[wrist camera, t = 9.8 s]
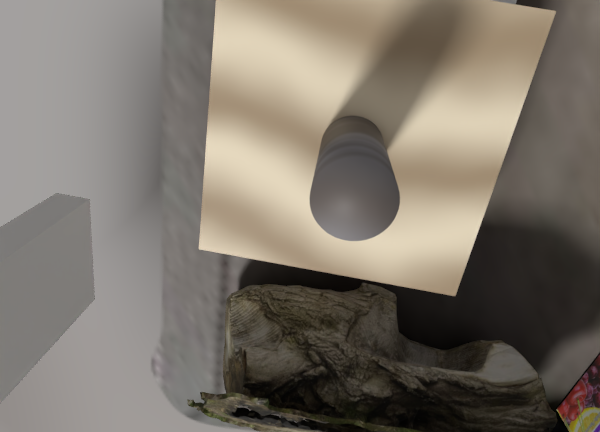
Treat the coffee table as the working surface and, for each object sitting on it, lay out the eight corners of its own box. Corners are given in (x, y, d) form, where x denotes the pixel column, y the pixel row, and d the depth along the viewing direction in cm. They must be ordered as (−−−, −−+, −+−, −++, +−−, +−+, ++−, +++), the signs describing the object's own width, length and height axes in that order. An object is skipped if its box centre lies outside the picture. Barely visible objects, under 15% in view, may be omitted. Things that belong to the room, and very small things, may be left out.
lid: (234, -37, 24) (151, -81, 14) (530, 12, 24) (670, 4, 13) (212, 227, 31) (145, 330, 20) (444, 269, 30) (495, 396, 20)
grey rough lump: (513, 336, 43) (642, 320, 29) (506, 485, 39) (655, 552, 24) (228, 270, 42) (218, 219, 28) (188, 414, 38) (153, 441, 24)
